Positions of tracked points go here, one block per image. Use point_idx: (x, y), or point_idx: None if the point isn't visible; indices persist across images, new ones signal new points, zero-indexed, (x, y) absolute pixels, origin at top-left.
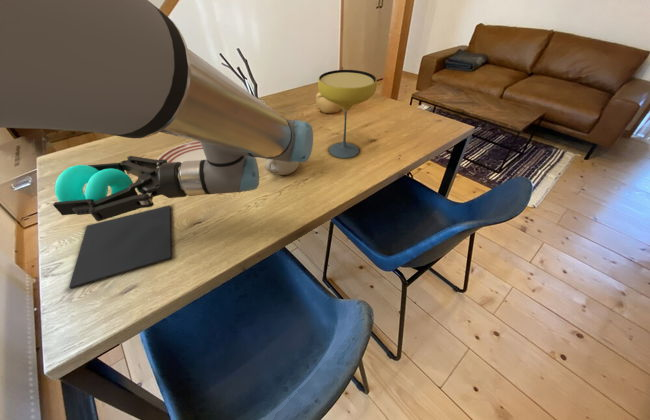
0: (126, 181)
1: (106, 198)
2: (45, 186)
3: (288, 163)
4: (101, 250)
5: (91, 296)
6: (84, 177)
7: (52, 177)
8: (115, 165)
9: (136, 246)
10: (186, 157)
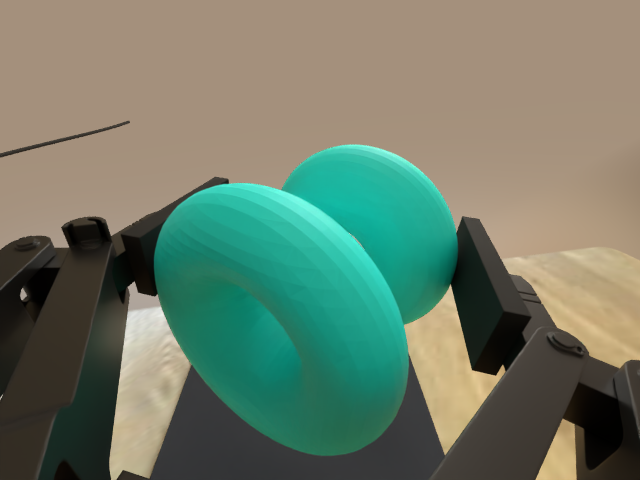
0: (317, 387)
1: (74, 283)
2: (532, 258)
3: None
4: None
5: (148, 365)
6: (349, 205)
7: (564, 262)
8: (496, 301)
9: (258, 466)
10: None
